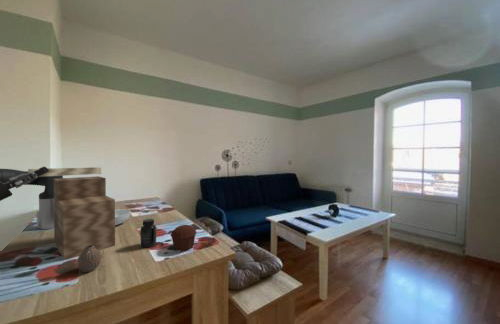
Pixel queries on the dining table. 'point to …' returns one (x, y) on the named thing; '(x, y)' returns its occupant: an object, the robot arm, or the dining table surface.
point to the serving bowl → (121, 215)
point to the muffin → (183, 237)
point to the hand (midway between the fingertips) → (46, 168)
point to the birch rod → (69, 171)
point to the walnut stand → (82, 215)
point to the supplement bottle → (148, 233)
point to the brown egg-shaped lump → (89, 259)
